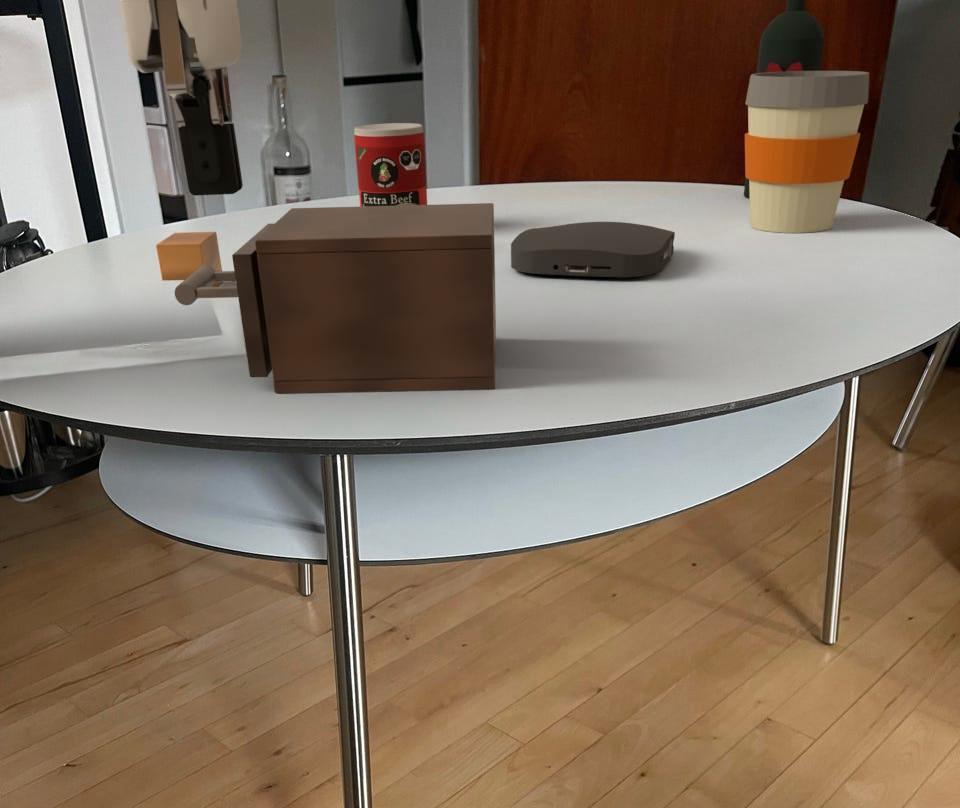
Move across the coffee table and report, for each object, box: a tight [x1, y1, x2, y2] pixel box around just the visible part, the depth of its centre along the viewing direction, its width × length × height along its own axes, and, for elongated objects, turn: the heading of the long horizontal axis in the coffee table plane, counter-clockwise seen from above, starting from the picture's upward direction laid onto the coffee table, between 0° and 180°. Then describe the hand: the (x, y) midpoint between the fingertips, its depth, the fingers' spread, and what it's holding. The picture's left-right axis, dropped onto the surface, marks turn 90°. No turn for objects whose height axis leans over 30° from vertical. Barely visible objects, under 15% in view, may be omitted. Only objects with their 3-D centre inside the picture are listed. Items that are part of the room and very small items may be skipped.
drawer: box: [174, 222, 276, 379], centre depth 71 cm, size 18×11×8 cm, turn 89°
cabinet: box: [255, 202, 497, 394], centre depth 71 cm, size 15×13×10 cm
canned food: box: [353, 122, 428, 207], centre depth 116 cm, size 8×8×11 cm
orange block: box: [155, 231, 223, 287], centre depth 94 cm, size 6×4×4 cm, turn 179°
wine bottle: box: [743, 0, 826, 199], centre depth 125 cm, size 8×10×30 cm
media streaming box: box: [510, 221, 676, 279], centre depth 100 cm, size 15×15×3 cm
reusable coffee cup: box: [744, 70, 870, 234], centre depth 111 cm, size 13×13×15 cm
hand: (216, 192), depth 67 cm, fingers closed
